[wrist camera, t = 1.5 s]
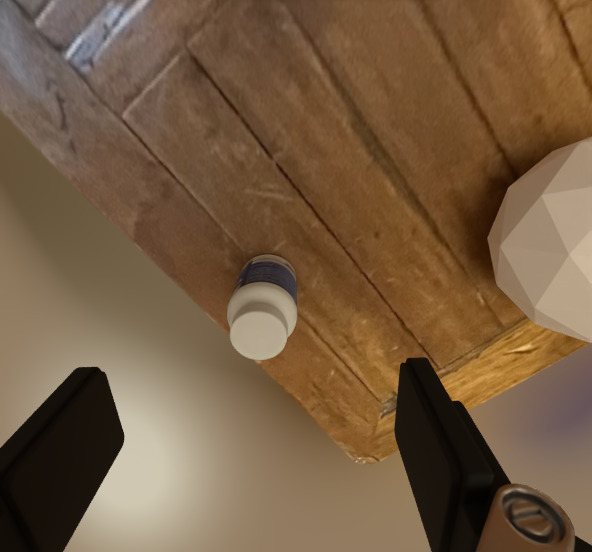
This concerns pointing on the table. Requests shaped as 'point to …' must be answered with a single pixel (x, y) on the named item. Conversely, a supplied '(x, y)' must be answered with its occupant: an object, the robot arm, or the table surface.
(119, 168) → the table surface
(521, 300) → the geometric shape
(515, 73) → the table surface
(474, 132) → the table surface
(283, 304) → the pill bottle
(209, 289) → the table surface
